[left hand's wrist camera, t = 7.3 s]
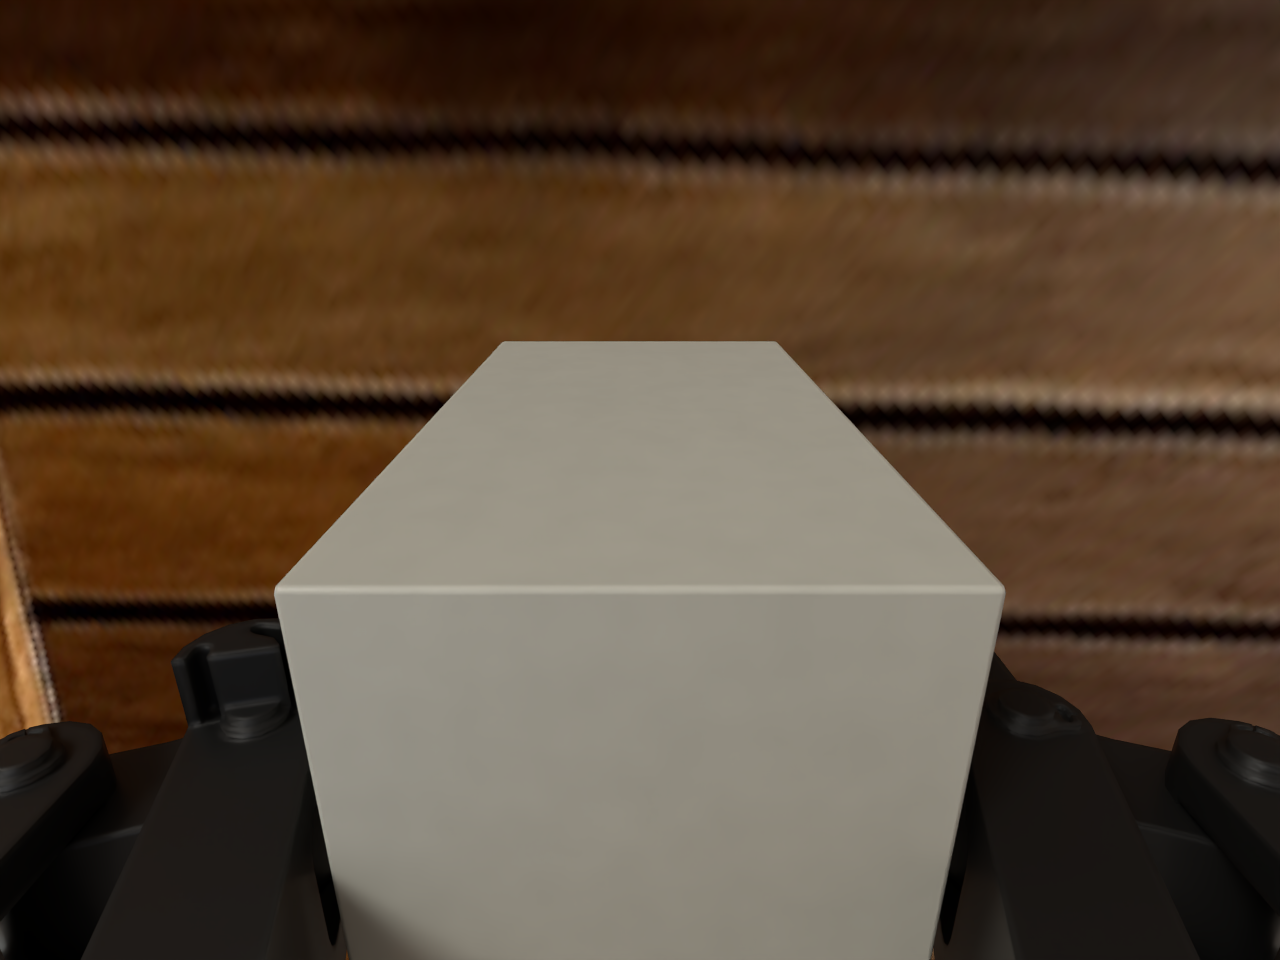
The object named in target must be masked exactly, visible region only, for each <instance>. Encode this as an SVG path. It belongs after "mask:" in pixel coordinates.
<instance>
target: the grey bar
mask: <svg viewBox="0 0 1280 960" xmlns="http://www.w3.org/2000/svg"><path fill="white" fill-rule="evenodd" d="M274 595H275V600H276V605H277V610H278V615H279V620H280V625H281V630H282V634H283V639H284V644H285V649H286V654H287V659H288V664H289V669H290V673H291V678H292V683H293V688H294V693H295V698H296V703H297V708H298V713H299V717H300V722H301V727H302V732H303V737H304V742H305V747H306V752H307V756H308V761H309V766H310V771H311V776H312V781H313V786H314V791H315V795H316V800H317V805H318V810H319V815H320V820H321V825H322V830H323V835H324V839H325V844H326V849H327V854H328V859H329V864H330V869H331V874H332V878H333V883H334V888H335V893H336V898H337V903H338V908H339V913H340V917H341V922H342V927H343V932H344V937H345V942H346V947H347V952H348V957H349V960H931V955H932V950H933V946H934V941H935V936H936V931H937V926H938V921H939V916H940V911H941V907H942V902H943V897H944V892H945V887H946V882H947V877H948V872H949V868H950V863H951V858H952V853H953V848H954V843H955V838H956V833H957V829H958V824H959V819H960V814H961V809H962V804H963V799H964V794H965V789H966V785H967V780H968V775H969V770H970V765H971V760H972V755H973V750H974V746H975V741H976V736H977V731H978V726H979V721H980V716H981V711H982V707H983V702H984V697H985V692H986V687H987V682H988V677H989V672H990V668H991V663H992V658H993V653H994V648H995V643H996V638H997V633H998V629H999V624H1000V619H1001V614H1002V609H1003V604H1004V599H1005V588H1004V586H1003V585H1002V583H1001V582H1000V581H999V580H998V579H997V578H996V577H995V576H994V575H993V574H992V573H991V572H990V571H989V569H988V568H987V567H986V566H985V565H984V564H983V563H982V562H981V561H980V560H979V559H978V558H977V557H976V556H975V554H974V553H973V552H972V551H971V550H970V549H969V548H968V547H967V546H966V545H965V544H964V543H963V542H962V541H961V539H960V538H959V537H958V536H957V535H956V534H955V533H954V532H953V531H952V530H951V529H950V528H949V527H948V525H947V524H946V523H945V522H944V521H943V520H942V519H941V518H940V517H939V516H938V515H937V514H936V513H935V512H934V510H933V509H932V508H931V507H930V506H929V505H928V504H927V503H926V502H925V501H924V500H923V499H922V498H921V497H920V495H919V494H918V493H917V492H916V491H915V490H914V489H913V488H912V487H911V486H910V485H909V484H908V483H907V481H906V480H905V479H904V478H903V477H902V476H901V475H900V474H899V473H898V472H897V471H896V470H895V469H894V468H893V466H892V465H891V464H890V463H889V462H888V461H887V460H886V459H885V458H884V457H883V456H882V455H881V454H880V453H879V451H878V450H877V449H876V448H875V447H874V446H873V445H872V444H871V443H870V442H869V441H868V440H867V439H866V438H865V436H864V435H863V434H862V433H861V432H860V431H859V430H858V429H857V428H856V427H855V426H854V425H853V424H852V422H851V421H850V420H849V419H848V418H847V417H846V416H845V415H844V414H843V413H842V412H841V411H840V410H839V409H838V407H837V406H836V405H835V404H834V403H833V402H832V401H831V400H830V399H829V398H828V397H827V396H826V395H825V394H824V392H823V391H822V390H821V389H820V388H819V387H818V386H817V385H816V384H815V383H814V382H813V381H812V380H811V378H810V377H809V376H808V375H807V374H806V373H805V372H804V371H803V370H802V369H801V368H800V367H799V366H798V365H797V363H796V362H795V361H794V360H793V359H792V358H791V357H790V356H789V355H788V354H787V353H786V352H785V351H784V350H783V348H782V347H781V346H780V345H779V344H778V343H777V342H502V343H501V344H500V345H499V347H498V348H497V349H496V350H495V351H494V352H493V353H492V354H491V355H490V356H489V357H488V358H487V359H486V361H485V362H484V363H483V364H482V365H481V366H480V367H479V368H478V369H477V370H476V371H475V372H474V373H473V375H472V376H471V377H470V378H469V379H468V380H467V381H466V382H465V383H464V384H463V385H462V386H461V387H460V389H459V390H458V391H457V392H456V393H455V394H454V395H453V396H452V397H451V398H450V399H449V400H448V401H447V403H446V404H445V405H444V406H443V407H442V408H441V409H440V410H439V411H438V412H437V413H436V414H435V415H434V417H433V418H432V419H431V420H430V421H429V422H428V423H427V424H426V425H425V426H424V427H423V428H422V429H421V431H420V432H419V433H418V434H417V435H416V436H415V437H414V438H413V439H412V440H411V441H410V442H409V443H408V445H407V446H406V447H405V448H404V449H403V450H402V451H401V452H400V453H399V454H398V455H397V456H396V457H395V459H394V460H393V461H392V462H391V463H390V464H389V465H388V466H387V467H386V468H385V469H384V470H383V471H382V473H381V474H380V475H379V476H378V477H377V478H376V479H375V480H374V481H373V482H372V483H371V484H370V485H369V487H368V488H367V489H366V490H365V491H364V492H363V493H362V494H361V495H360V496H359V497H358V498H357V499H356V501H355V502H354V503H353V504H352V505H351V506H350V507H349V508H348V509H347V510H346V511H345V512H344V513H343V515H342V516H341V517H340V518H339V519H338V520H337V521H336V522H335V523H334V524H333V525H332V526H331V527H330V529H329V530H328V531H327V532H326V533H325V534H324V535H323V536H322V537H321V538H320V539H319V540H318V541H317V543H316V544H315V545H314V546H313V547H312V548H311V549H310V550H309V551H308V552H307V553H306V554H305V555H304V557H303V558H302V559H301V560H300V561H299V562H298V563H297V564H296V565H295V566H294V567H293V568H292V569H291V571H290V572H289V573H288V574H287V575H286V576H285V577H284V578H283V579H282V580H281V581H280V582H279V583H278V585H277V586H276V588H275V592H274Z"/></svg>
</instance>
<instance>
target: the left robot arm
mask: <svg viewBox="0 0 1280 960" xmlns="http://www.w3.org/2000/svg"><path fill="white" fill-rule="evenodd" d="M171 664H172V667H173V671H174V675H175V678H176V682H177V686H178V689H179V693H180V697H181V700H182V704H183V708H184V711H185V715H186V719H187V722H188V726H189V727H188V729H187V731H186V733H185V736H184V738H182V739H178V740H174V741H171V742H167V743H162V744H157V745H152V746H147V747H143V748H138V749H133V750H128V751H123V752H119V753H114V754H108V751H107V748H106V744H105V741H104V738H103V735H102V733H101V732H100V731H99V730H97V729H96V728H95V727H94V726H92V725H91V724H86V723H79V722H72V721H68V722H60V723H51V724H43V725H39V726H34V727H30V728H29V729H27V730H25V729H23V730H20V731H18V732H15V733H12V734H9V735H7V736H6V737H4V738H2V739H0V960H345V959H346V950H347V947H346V942H345V937H344V932H343V927H342V922H341V917H340V913H339V908H338V903H337V898H336V893H335V888H334V883H333V878H332V874H331V869H330V864H329V859H328V854H327V849H326V844H325V839H324V835H323V830H322V825H321V820H320V815H319V810H318V805H317V800H316V795H315V791H314V786H313V781H312V776H311V771H310V766H309V761H308V756H307V752H306V747H305V742H304V737H303V732H302V727H301V722H300V717H299V713H298V708H297V703H296V698H295V693H294V688H293V683H292V678H291V673H290V669H289V664H288V659H287V654H286V649H285V644H284V639H283V634H282V630H281V625H280V620H279V618H278V619H254V620H249V621H244V622H239V623H235V624H230V625H227V626H225V627H222V628H219V629H217V630H214V631H212V632H209V633H206V634H204V635H202V636H201V637H199V638H198V639H196V640H194V641H193V642H191V643H190V644H188V645H186V646H185V647H183V649H182V650H181V651H180V652H179V653H178V654H177V655H176V656H175V657H174V658H173V660H172V661H171ZM933 948H934V957H935V960H1280V736H1279V735H1277V734H1275V733H1274V732H1272V731H1270V730H1267V729H1265V728H1262V727H1259V726H1252V724H1248V723H1244V722H1240V721H1233V720H1224V719H1216V718H1205V719H1198V720H1191V721H1189V722H1188V723H1186V724H1185V725H1184V726H1182V727H1181V728H1180V729H1179V730H1178V733H1177V736H1176V739H1175V742H1174V745H1173V748H1172V751H1168V750H1163V749H1158V748H1153V747H1148V746H1143V745H1139V744H1134V743H1129V742H1124V741H1119V740H1114V739H1110V738H1107V737H1103V736H1099V735H1096V734H1095V732H1094V730H1093V728H1092V726H1091V724H1090V723H1089V722H1088V721H1087V719H1086V718H1085V717H1084V715H1083V714H1082V713H1081V711H1080V710H1079V709H1077V708H1076V707H1075V706H1073V705H1072V704H1070V703H1069V702H1068V701H1066V700H1065V699H1063V698H1062V697H1061V696H1059V695H1057V694H1054V693H1052V692H1050V691H1048V690H1045V689H1043V688H1041V687H1039V686H1036V685H1032V684H1028V683H1024V682H1020V681H1017V680H1016V679H1015V678H1014V676H1013V675H1012V674H1011V673H1010V671H1009V670H1008V669H1007V667H1006V666H1005V665H1004V664H1003V662H1002V661H1001V660H1000V658H999V657H998V656H997V655H996V653H995V652H994V653H993V658H992V663H991V668H990V672H989V677H988V682H987V687H986V692H985V697H984V702H983V707H982V711H981V716H980V721H979V726H978V731H977V736H976V741H975V746H974V750H973V755H972V760H971V765H970V770H969V775H968V780H967V785H966V789H965V794H964V799H963V804H962V809H961V814H960V819H959V824H958V829H957V833H956V838H955V843H954V848H953V853H952V858H951V863H950V868H949V872H948V877H947V882H946V887H945V892H944V897H943V902H942V907H941V911H940V916H939V921H938V926H937V931H936V936H935V941H934V946H933Z"/></svg>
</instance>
